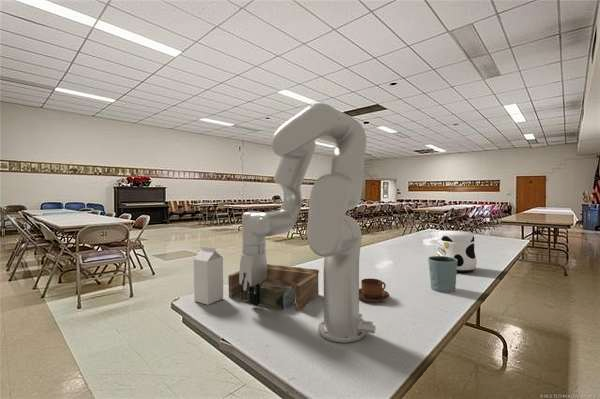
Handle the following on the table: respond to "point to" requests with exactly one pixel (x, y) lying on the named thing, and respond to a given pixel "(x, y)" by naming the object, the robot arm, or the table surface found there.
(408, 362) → the table surface
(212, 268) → the milk carton
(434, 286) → the teal cup
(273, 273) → the frame
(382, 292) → the cup and saucer
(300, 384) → the table surface
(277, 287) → the beverage carton
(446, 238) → the milk container
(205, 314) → the table surface
